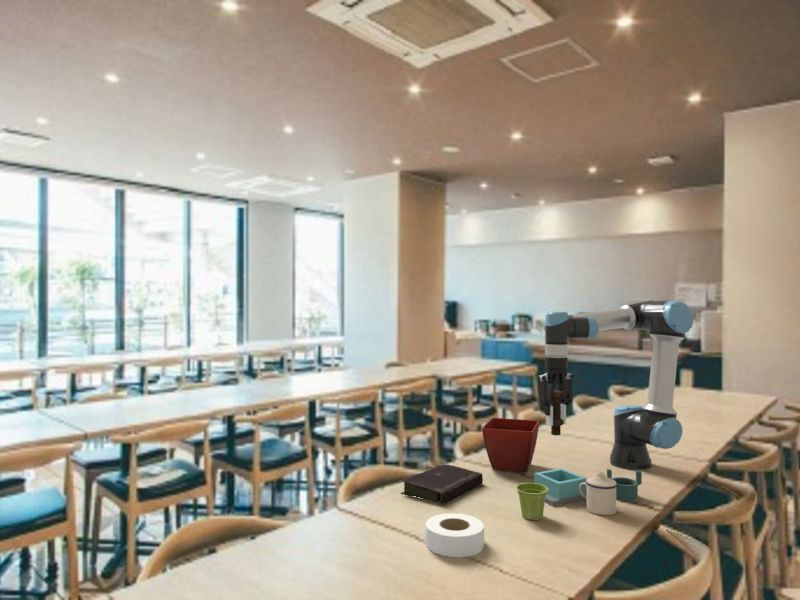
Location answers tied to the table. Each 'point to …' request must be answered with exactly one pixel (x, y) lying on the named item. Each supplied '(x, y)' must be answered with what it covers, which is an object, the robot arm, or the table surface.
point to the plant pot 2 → (532, 500)
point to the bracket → (626, 486)
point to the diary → (442, 483)
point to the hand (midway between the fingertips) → (555, 423)
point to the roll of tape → (454, 535)
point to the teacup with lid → (600, 494)
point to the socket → (561, 486)
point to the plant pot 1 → (510, 443)
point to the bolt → (557, 412)
